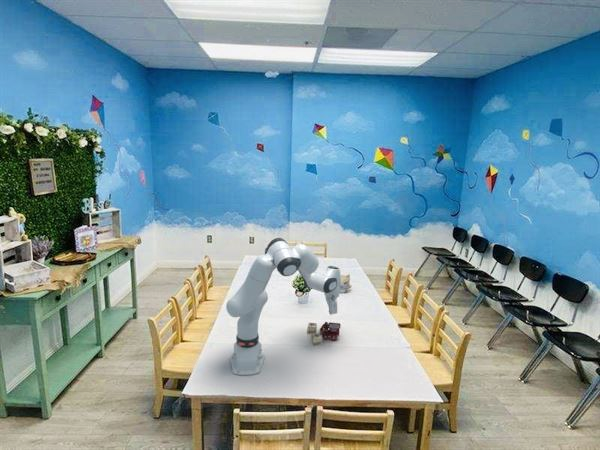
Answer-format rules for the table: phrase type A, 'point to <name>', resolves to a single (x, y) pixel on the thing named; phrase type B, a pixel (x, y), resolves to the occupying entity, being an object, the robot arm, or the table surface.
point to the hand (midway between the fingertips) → (330, 313)
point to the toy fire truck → (330, 331)
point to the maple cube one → (316, 339)
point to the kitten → (344, 283)
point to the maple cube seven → (312, 328)
